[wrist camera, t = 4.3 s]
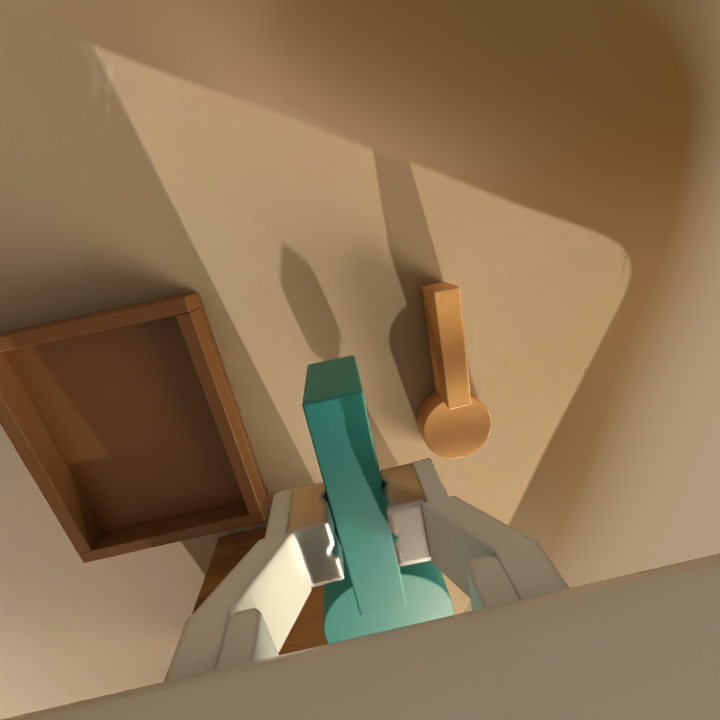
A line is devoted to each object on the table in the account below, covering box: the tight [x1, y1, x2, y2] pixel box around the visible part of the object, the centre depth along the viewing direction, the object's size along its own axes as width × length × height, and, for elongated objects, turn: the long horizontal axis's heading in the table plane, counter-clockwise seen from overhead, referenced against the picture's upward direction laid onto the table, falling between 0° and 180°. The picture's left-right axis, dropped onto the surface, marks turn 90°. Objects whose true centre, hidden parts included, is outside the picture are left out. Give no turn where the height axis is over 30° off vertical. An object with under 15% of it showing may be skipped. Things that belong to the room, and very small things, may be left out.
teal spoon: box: [302, 356, 453, 644], centre depth 11 cm, size 11×4×3 cm, turn 11°
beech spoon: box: [418, 282, 491, 458], centre depth 22 cm, size 11×4×3 cm, turn 11°
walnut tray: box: [0, 292, 269, 563], centre depth 21 cm, size 15×12×2 cm
